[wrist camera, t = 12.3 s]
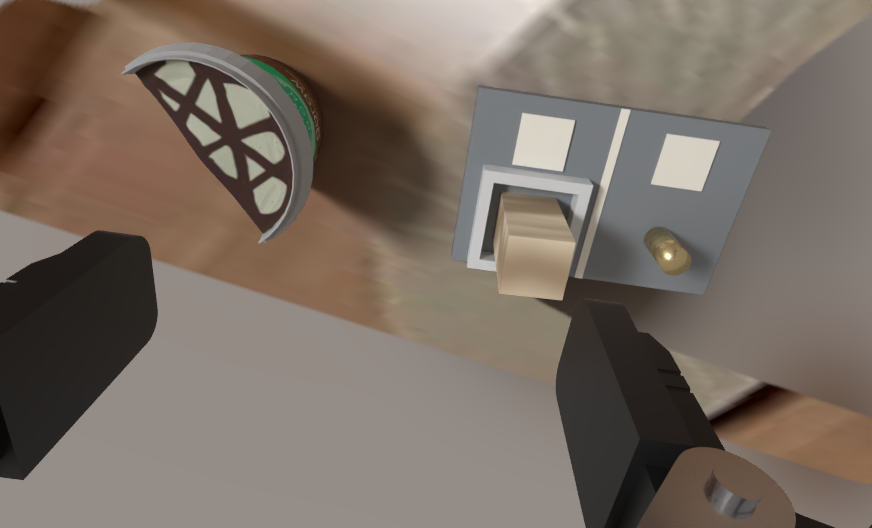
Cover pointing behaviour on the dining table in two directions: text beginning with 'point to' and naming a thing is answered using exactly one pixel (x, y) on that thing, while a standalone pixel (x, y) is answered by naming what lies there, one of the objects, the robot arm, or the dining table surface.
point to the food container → (241, 124)
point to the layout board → (608, 182)
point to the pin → (667, 251)
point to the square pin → (532, 246)
